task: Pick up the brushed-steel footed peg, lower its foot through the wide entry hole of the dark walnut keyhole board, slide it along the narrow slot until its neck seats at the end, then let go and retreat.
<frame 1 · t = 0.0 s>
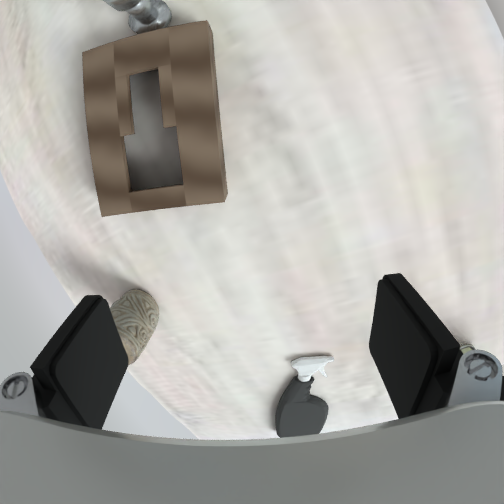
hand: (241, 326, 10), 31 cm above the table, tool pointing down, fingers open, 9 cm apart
spray bottle: (303, 396, 56), on the table
keyhole peg: (151, 19, 30), on the table
keyhole board: (158, 119, 35), on the table
carving: (141, 303, 46), on the table
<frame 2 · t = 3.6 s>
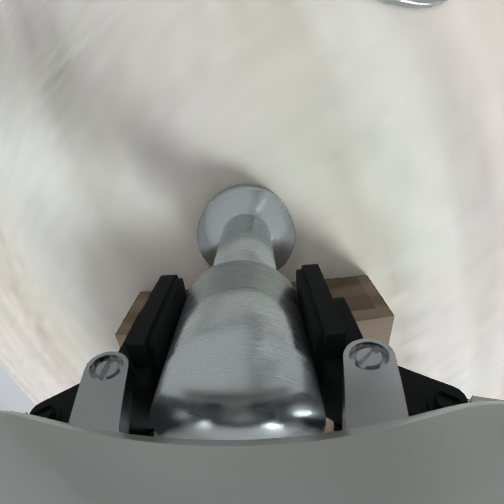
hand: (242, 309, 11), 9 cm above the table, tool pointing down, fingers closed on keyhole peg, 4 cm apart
keyhole peg: (246, 228, 19), on the table, touching gripper
keyhole board: (262, 393, 25), on the table
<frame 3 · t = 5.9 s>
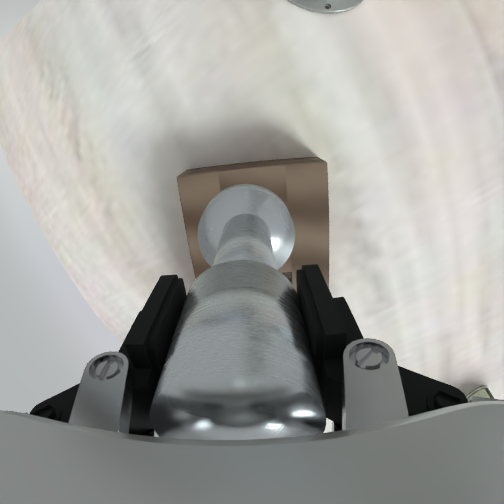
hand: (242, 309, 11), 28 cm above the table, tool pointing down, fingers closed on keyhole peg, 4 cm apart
coffee can: (473, 398, 58), on the table
keyhole peg: (246, 228, 19), point 19 cm above the table, touching gripper
keyhole board: (260, 246, 40), on the table
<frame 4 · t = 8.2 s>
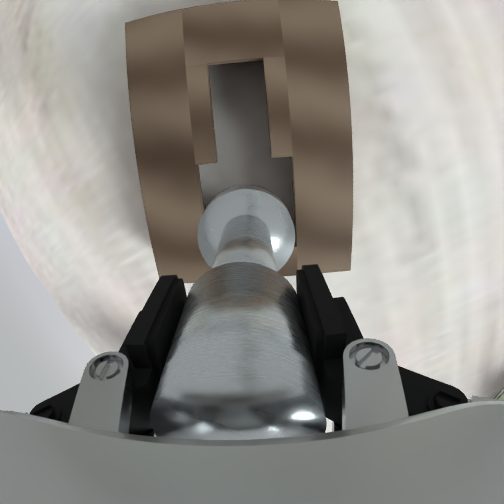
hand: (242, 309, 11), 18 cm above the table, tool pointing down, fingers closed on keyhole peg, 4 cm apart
keyhole peg: (246, 229, 19), point 9 cm above the table, touching gripper
keyhole board: (243, 137, 25), on the table
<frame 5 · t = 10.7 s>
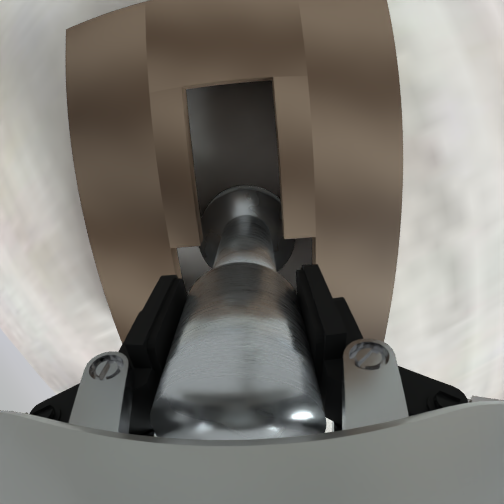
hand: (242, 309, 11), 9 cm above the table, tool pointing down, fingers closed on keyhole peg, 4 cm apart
keyhole peg: (246, 229, 19), point 1 cm above the table, touching gripper
keyhole board: (242, 190, 18), on the table
when the fingers open (10 cm above the table, at t = 13.1 s): keyhole peg stays where it is, resting in keyhole board.
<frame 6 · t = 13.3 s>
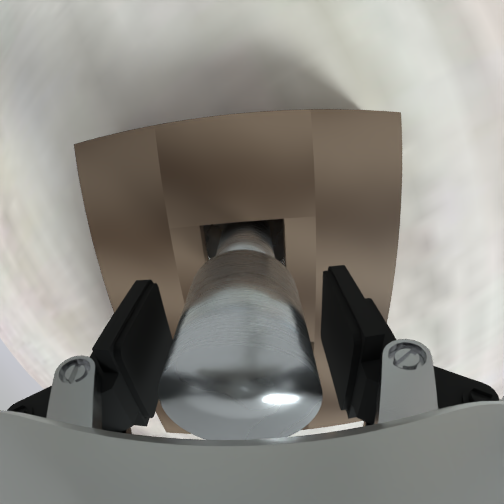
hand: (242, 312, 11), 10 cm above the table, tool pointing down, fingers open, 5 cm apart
keyhole peg: (246, 224, 20), resting in keyhole board
keyhole board: (252, 283, 21), on the table
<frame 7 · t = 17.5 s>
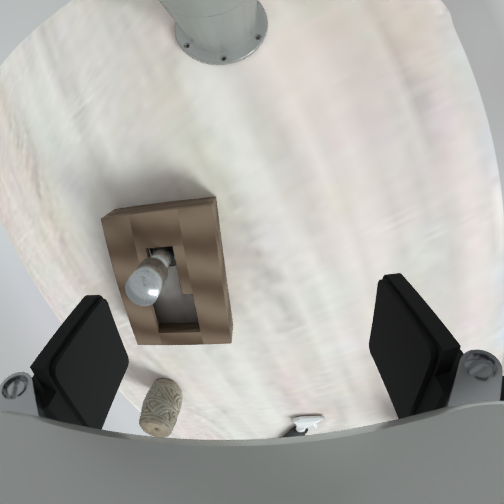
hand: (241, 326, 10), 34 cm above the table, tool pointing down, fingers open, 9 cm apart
spray bottle: (297, 439, 67), on the table
keyhole peg: (170, 245, 46), resting in keyhole board
keyhole board: (175, 270, 47), on the table
carving: (167, 385, 58), on the table
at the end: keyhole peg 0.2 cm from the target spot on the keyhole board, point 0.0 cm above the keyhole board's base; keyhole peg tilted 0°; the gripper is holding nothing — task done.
